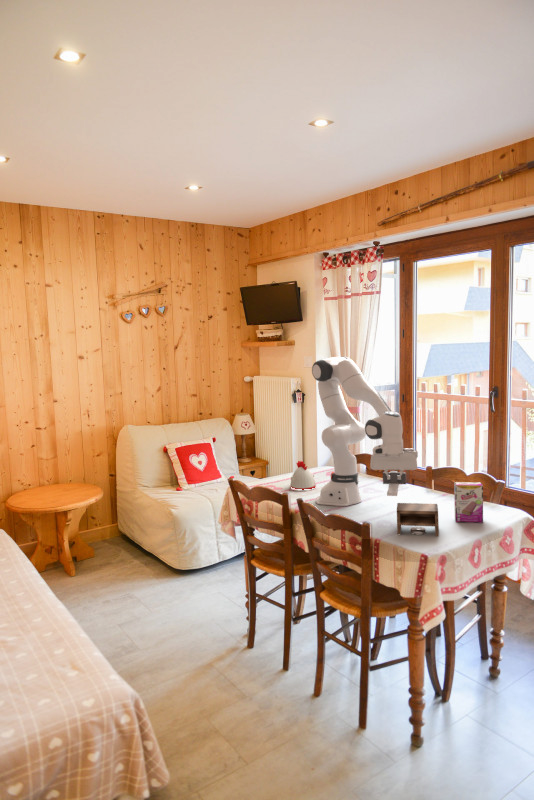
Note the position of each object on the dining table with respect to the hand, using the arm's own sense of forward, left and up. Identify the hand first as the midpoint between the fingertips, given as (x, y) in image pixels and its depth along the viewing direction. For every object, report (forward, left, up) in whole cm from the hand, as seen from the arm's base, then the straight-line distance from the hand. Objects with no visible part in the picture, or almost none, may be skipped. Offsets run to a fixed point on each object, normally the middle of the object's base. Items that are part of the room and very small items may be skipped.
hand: (394, 479), depth 240 cm
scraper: (0, -7, -3) cm, 8 cm away
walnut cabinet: (+10, -17, -17) cm, 26 cm away
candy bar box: (+31, -2, -17) cm, 35 cm away
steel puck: (+10, -18, -18) cm, 27 cm away
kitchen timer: (-51, +46, -18) cm, 71 cm away
